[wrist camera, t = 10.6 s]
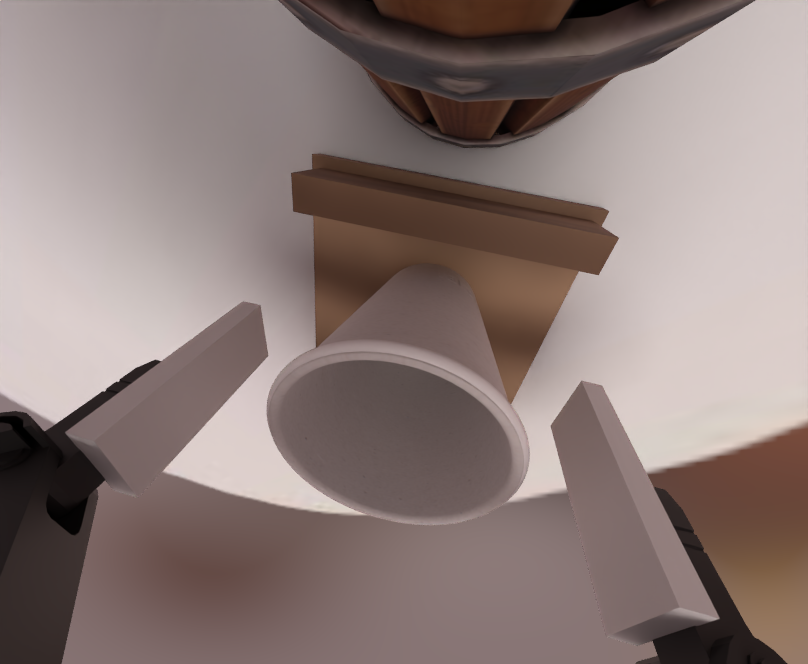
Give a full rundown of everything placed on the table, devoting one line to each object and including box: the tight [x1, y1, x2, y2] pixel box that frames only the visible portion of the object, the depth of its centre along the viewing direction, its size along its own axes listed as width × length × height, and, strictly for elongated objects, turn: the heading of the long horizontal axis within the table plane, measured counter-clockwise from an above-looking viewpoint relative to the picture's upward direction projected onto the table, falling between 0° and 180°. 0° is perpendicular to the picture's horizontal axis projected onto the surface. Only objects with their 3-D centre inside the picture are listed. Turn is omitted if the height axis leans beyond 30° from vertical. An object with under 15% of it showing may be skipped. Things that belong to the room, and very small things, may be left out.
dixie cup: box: [267, 263, 530, 525], centre depth 13 cm, size 8×8×10 cm
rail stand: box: [291, 154, 619, 404], centre depth 17 cm, size 14×14×4 cm
